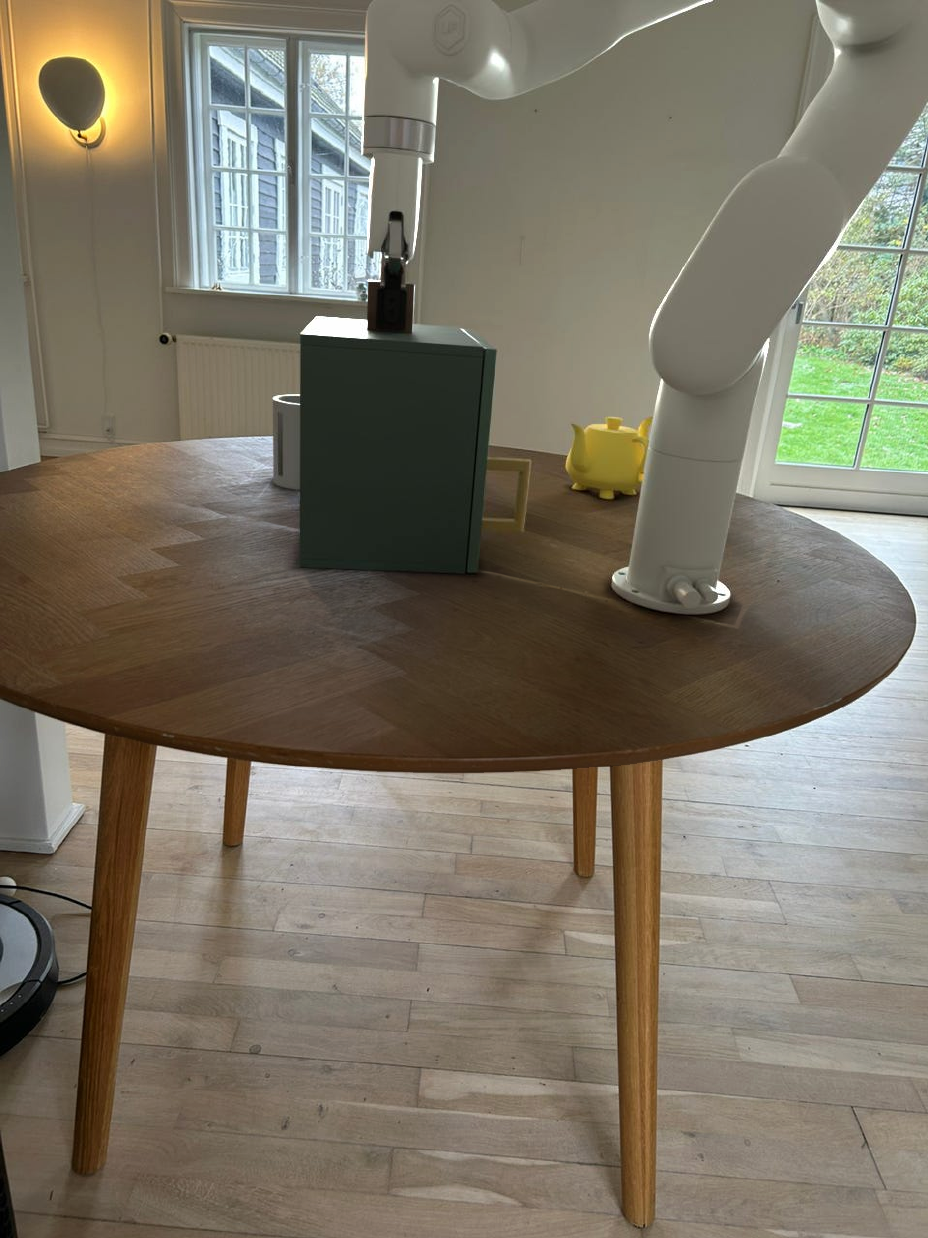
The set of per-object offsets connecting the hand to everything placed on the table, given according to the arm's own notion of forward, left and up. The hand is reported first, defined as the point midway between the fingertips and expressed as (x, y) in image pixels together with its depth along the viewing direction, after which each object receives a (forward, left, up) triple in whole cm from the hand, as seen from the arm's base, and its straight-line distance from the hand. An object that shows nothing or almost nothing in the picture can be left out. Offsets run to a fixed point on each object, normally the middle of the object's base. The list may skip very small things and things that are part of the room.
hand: (390, 325), depth 95 cm
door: (0, -12, -24) cm, 27 cm away
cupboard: (0, 0, -24) cm, 24 cm away
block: (0, 0, 0) cm, 0 cm away
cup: (+24, +11, -25) cm, 36 cm away
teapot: (+28, -36, -25) cm, 52 cm away
